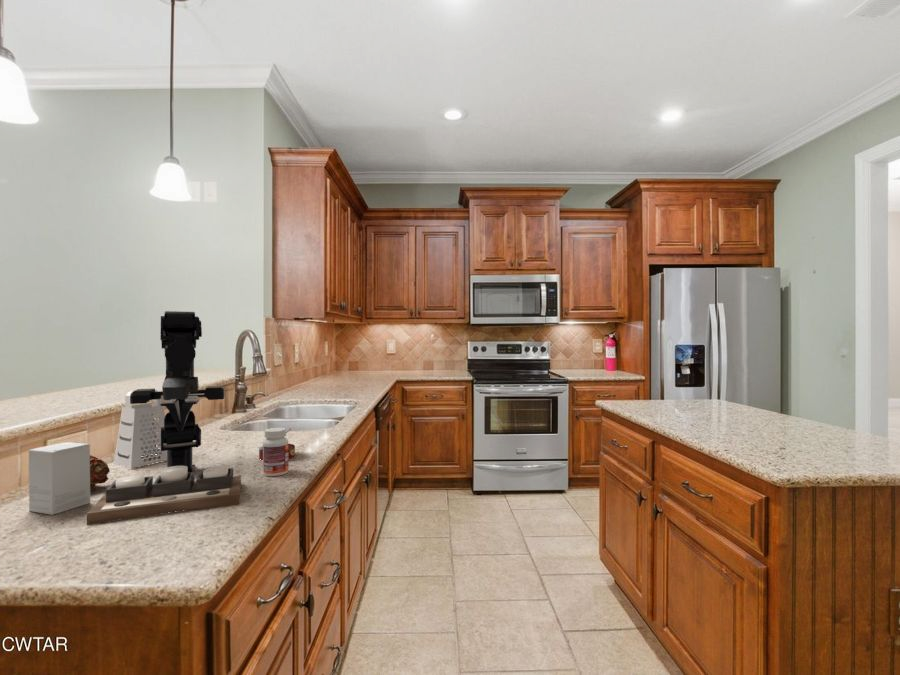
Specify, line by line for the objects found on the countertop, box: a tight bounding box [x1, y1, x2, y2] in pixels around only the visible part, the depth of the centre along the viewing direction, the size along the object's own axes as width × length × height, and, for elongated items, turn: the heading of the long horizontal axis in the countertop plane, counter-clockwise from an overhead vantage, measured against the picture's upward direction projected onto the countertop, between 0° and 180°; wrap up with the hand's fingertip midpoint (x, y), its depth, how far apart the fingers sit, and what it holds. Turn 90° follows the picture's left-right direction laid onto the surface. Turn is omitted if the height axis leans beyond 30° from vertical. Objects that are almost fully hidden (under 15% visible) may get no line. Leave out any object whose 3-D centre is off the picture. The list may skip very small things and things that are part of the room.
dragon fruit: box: [90, 454, 111, 491], centre depth 105 cm, size 8×8×12 cm
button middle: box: [160, 466, 188, 483], centre depth 99 cm, size 5×5×2 cm
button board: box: [86, 467, 242, 525], centre depth 97 cm, size 14×26×4 cm, turn 113°
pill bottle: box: [262, 427, 289, 477], centre depth 117 cm, size 6×6×11 cm
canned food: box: [258, 428, 296, 461], centre depth 133 cm, size 11×10×10 cm
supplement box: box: [28, 441, 91, 516], centre depth 95 cm, size 7×7×13 cm
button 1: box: [116, 474, 146, 488], centre depth 96 cm, size 5×5×2 cm
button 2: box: [202, 466, 228, 479], centre depth 102 cm, size 5×5×2 cm
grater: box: [113, 389, 167, 469], centre depth 129 cm, size 10×10×20 cm
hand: (180, 431), depth 107 cm, fingers closed
